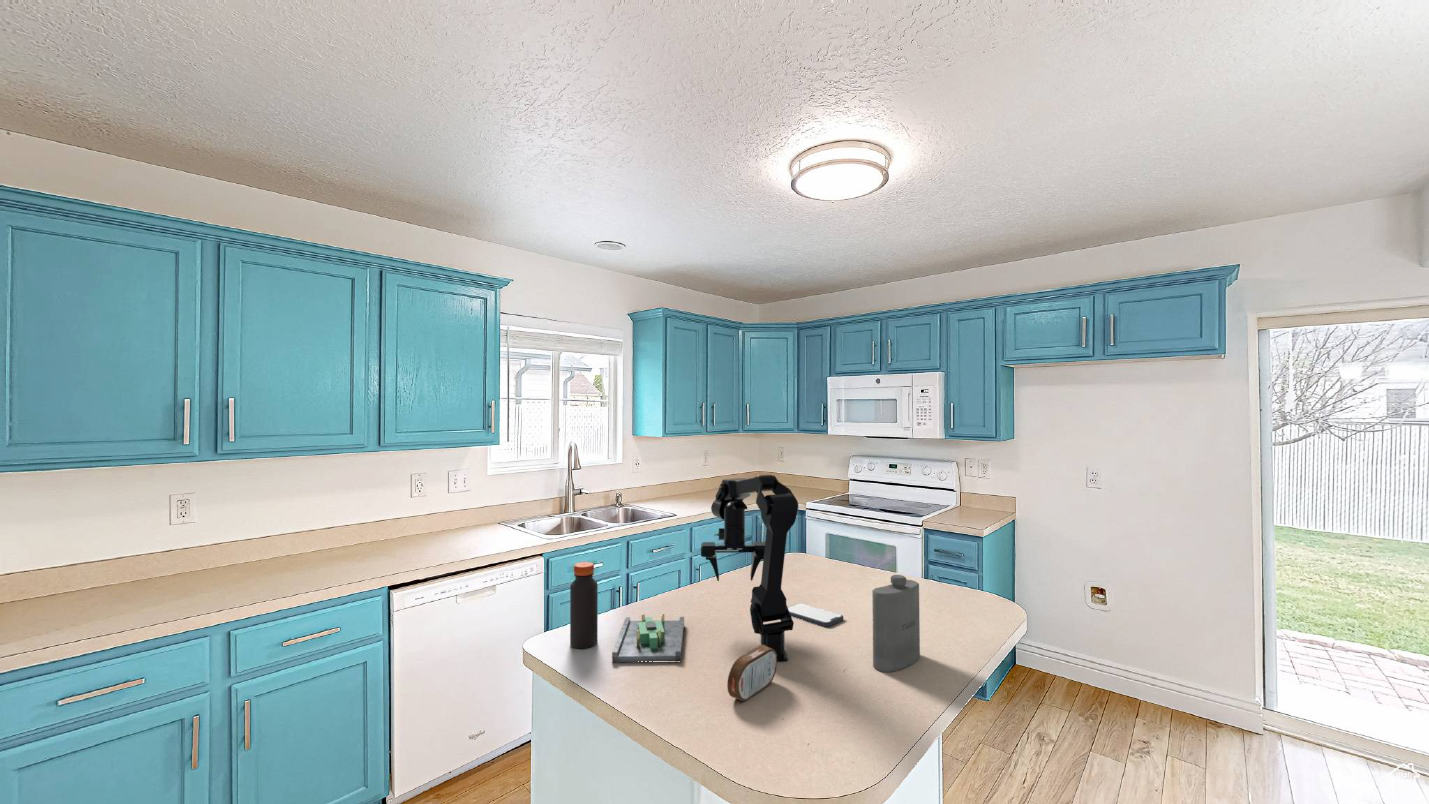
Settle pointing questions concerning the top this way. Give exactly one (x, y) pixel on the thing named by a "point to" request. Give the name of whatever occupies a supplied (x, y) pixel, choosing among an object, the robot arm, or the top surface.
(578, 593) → the bottle
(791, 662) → the top surface
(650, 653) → the chassis
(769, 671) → the tin
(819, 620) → the phone case
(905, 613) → the flask
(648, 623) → the green block piece
